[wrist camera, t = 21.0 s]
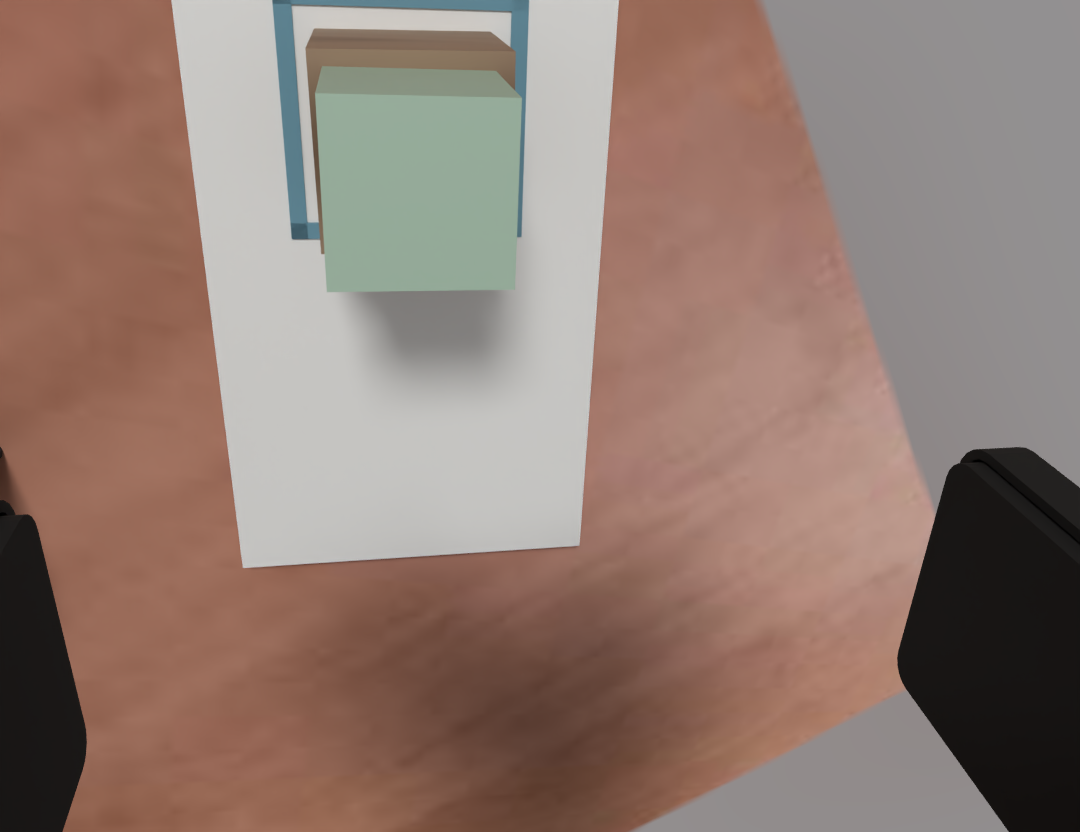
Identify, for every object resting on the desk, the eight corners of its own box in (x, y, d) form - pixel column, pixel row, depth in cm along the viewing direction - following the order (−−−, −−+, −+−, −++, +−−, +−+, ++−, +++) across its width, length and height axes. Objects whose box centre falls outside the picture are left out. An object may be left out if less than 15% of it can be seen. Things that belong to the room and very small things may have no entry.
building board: (574, 533, 44) (579, 546, 43) (245, 554, 42) (242, 569, 41) (613, -28, 34) (621, -27, 33) (171, -45, 31) (165, -45, 30)
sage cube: (492, 236, 30) (514, 289, 26) (331, 237, 29) (326, 291, 25) (496, 70, 28) (521, 97, 23) (321, 66, 27) (315, 93, 22)
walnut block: (489, 202, 36) (512, 250, 30) (326, 204, 35) (321, 254, 29) (490, 31, 33) (515, 51, 28) (313, 28, 32) (305, 48, 27)
